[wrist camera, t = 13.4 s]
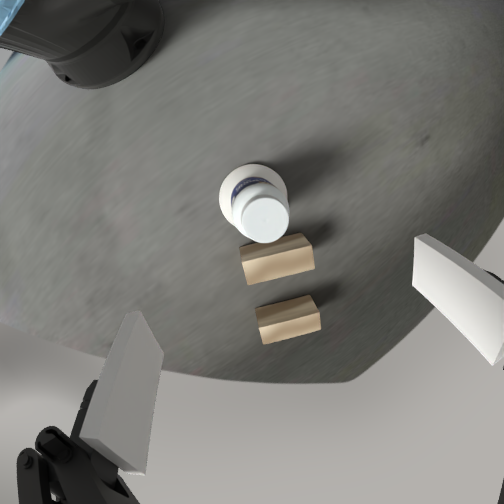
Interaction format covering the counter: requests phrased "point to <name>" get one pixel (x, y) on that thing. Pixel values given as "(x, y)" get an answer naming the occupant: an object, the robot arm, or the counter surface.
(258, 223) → the pill bottle
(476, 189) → the counter surface
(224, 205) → the pad
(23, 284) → the counter surface
